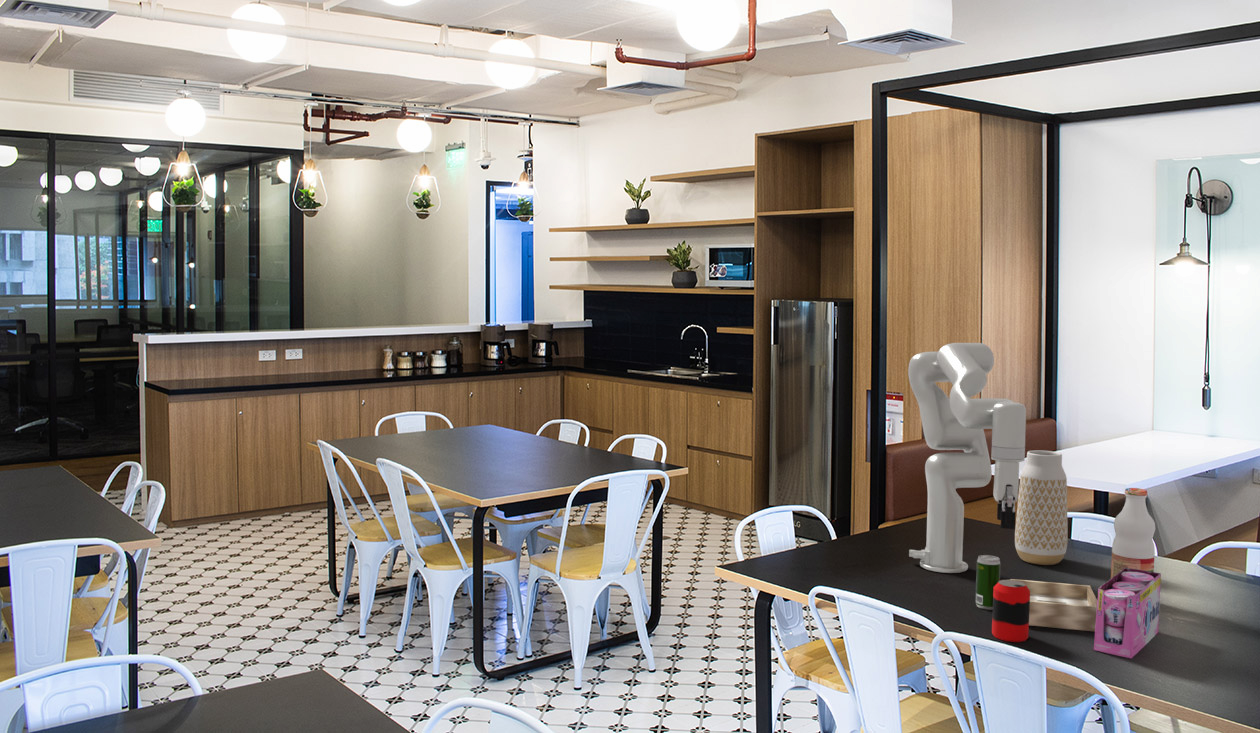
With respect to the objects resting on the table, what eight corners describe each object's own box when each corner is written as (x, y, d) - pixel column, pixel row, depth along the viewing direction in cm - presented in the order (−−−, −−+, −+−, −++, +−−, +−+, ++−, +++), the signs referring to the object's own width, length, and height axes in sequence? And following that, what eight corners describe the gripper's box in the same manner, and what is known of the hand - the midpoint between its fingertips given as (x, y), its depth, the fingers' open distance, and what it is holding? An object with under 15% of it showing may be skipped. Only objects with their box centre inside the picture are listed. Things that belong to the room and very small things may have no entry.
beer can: (989, 611, 248) (991, 561, 247) (970, 605, 252) (972, 556, 251) (1003, 607, 251) (1005, 558, 250) (984, 601, 255) (986, 553, 254)
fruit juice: (1107, 594, 262) (1112, 484, 259) (1148, 598, 259) (1154, 487, 257) (1112, 605, 253) (1117, 491, 251) (1155, 609, 250) (1161, 494, 248)
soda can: (1009, 644, 225) (1011, 589, 224) (984, 633, 232) (986, 580, 231) (1035, 639, 228) (1038, 586, 227) (1010, 629, 235) (1012, 577, 234)
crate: (1014, 623, 239) (1015, 600, 238) (1009, 600, 256) (1010, 578, 255) (1099, 631, 234) (1100, 607, 233) (1089, 608, 251) (1089, 585, 250)
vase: (1076, 562, 292) (1081, 454, 289) (1047, 570, 284) (1051, 458, 281) (1033, 551, 303) (1037, 447, 300) (1003, 558, 295) (1007, 451, 293)
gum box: (1131, 661, 216) (1134, 597, 215) (1090, 652, 221) (1093, 589, 220) (1159, 632, 234) (1162, 572, 233) (1121, 624, 239) (1124, 566, 238)
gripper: (988, 448, 260) (986, 516, 261) (994, 458, 243) (992, 530, 244) (1020, 449, 258) (1018, 517, 259) (1028, 459, 241) (1026, 532, 242)
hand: (1005, 524), depth 251 cm, fingers open, 9 cm apart
